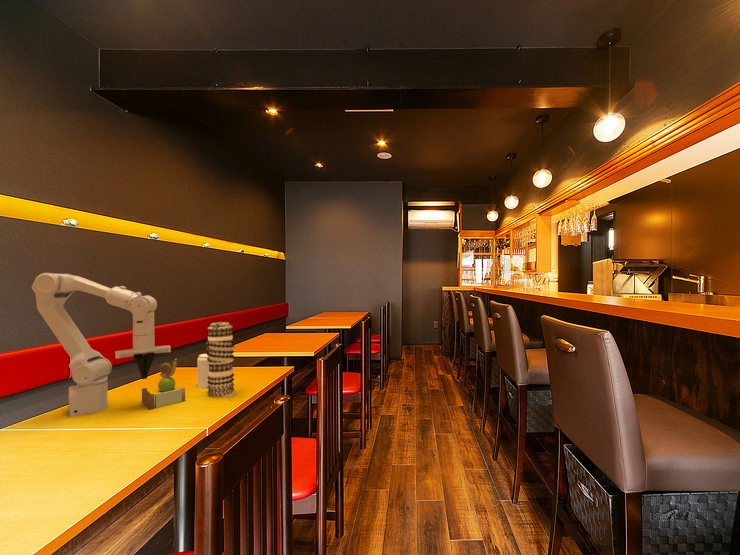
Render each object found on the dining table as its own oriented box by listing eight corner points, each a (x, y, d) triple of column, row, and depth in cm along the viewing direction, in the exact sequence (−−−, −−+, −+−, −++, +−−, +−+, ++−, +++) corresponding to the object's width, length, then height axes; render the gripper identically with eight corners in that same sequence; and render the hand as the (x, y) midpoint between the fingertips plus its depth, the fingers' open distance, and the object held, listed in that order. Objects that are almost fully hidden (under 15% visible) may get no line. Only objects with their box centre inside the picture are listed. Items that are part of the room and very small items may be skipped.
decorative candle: (210, 401, 118) (210, 325, 118) (203, 395, 125) (202, 322, 125) (239, 395, 123) (238, 322, 124) (229, 389, 130) (229, 320, 131)
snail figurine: (172, 394, 126) (172, 360, 126) (154, 394, 126) (154, 360, 127) (181, 389, 132) (180, 356, 132) (163, 389, 132) (163, 357, 132)
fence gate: (156, 408, 110) (156, 394, 110) (154, 407, 111) (154, 394, 111) (185, 400, 117) (185, 388, 117) (184, 399, 118) (184, 387, 118)
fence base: (148, 410, 109) (148, 395, 109) (141, 402, 116) (141, 388, 116) (154, 409, 110) (154, 394, 110) (146, 401, 118) (146, 387, 118)
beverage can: (192, 389, 132) (192, 356, 132) (208, 383, 140) (208, 352, 140) (210, 390, 130) (210, 357, 130) (225, 384, 138) (225, 353, 138)
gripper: (167, 331, 120) (168, 371, 120) (114, 335, 111) (114, 379, 111) (171, 333, 114) (172, 375, 114) (116, 338, 105) (116, 384, 105)
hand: (144, 378), depth 112 cm, fingers closed
